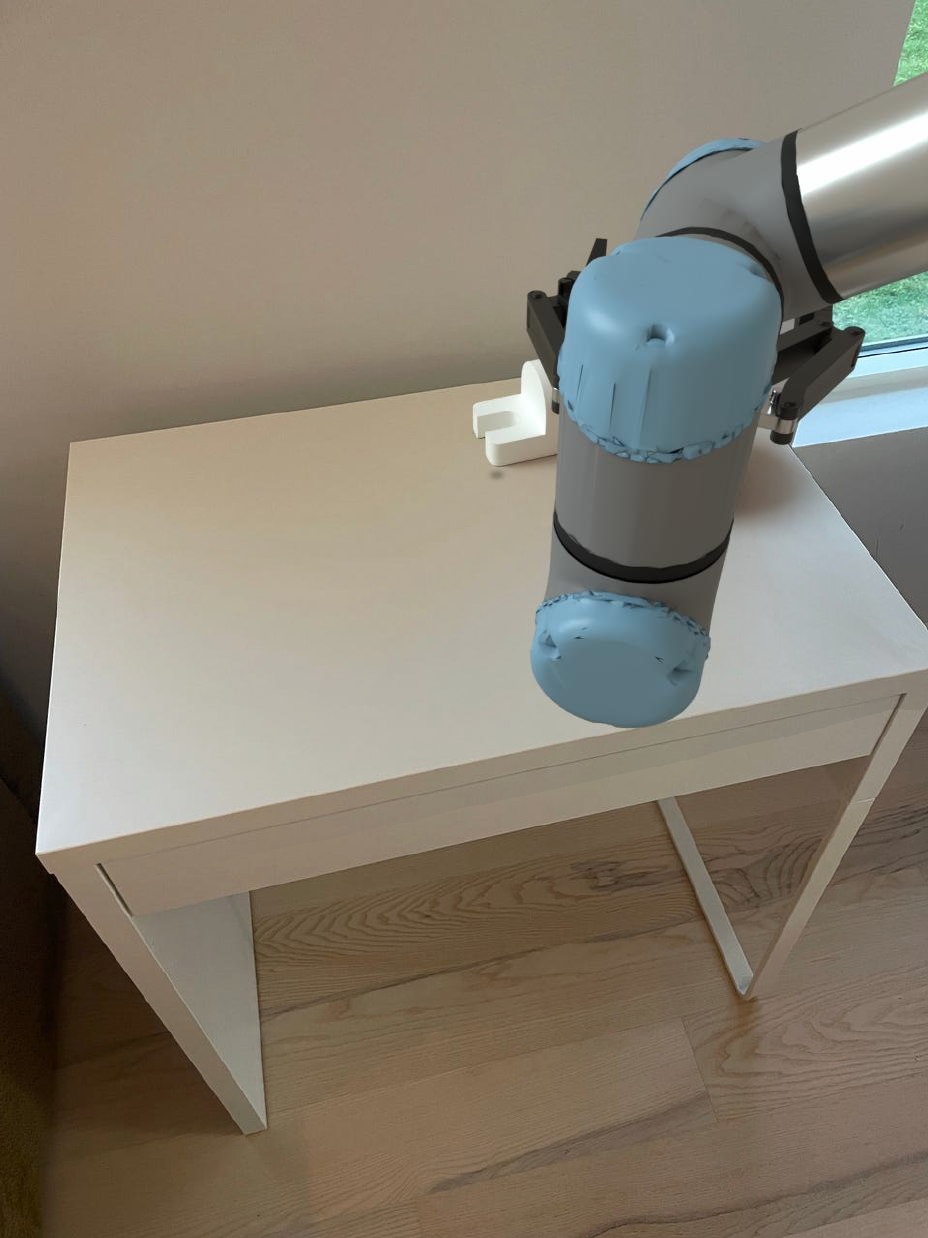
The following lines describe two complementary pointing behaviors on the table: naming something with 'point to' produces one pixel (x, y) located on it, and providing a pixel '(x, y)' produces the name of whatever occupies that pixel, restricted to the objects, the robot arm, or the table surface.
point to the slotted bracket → (519, 420)
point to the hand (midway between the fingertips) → (701, 267)
